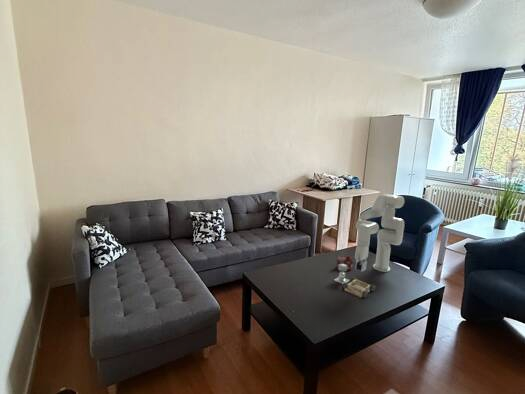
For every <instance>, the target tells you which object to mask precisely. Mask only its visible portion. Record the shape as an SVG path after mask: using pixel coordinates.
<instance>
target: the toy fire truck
mask: <svg viewBox="0 0 525 394" xmlns="http://www.w3.org/2000/svg"><path fill="white" fill-rule="evenodd" d="M336 259H337V260H336V266H337V267H339V264H346V265H347V271H350V270H351V269H352V268H353V267H354V262H353V261H352V258H351V257H350V255H347V256H346V255H339V254H338V255H336Z"/></svg>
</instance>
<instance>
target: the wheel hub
mask: <svg viewBox="0 0 525 394" xmlns="http://www.w3.org/2000/svg"><path fill="white" fill-rule="evenodd" d="M337 267H338V268H337V269H338V271H339V272H347V271H348V270H347V265H346V264H339V266H337Z"/></svg>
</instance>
